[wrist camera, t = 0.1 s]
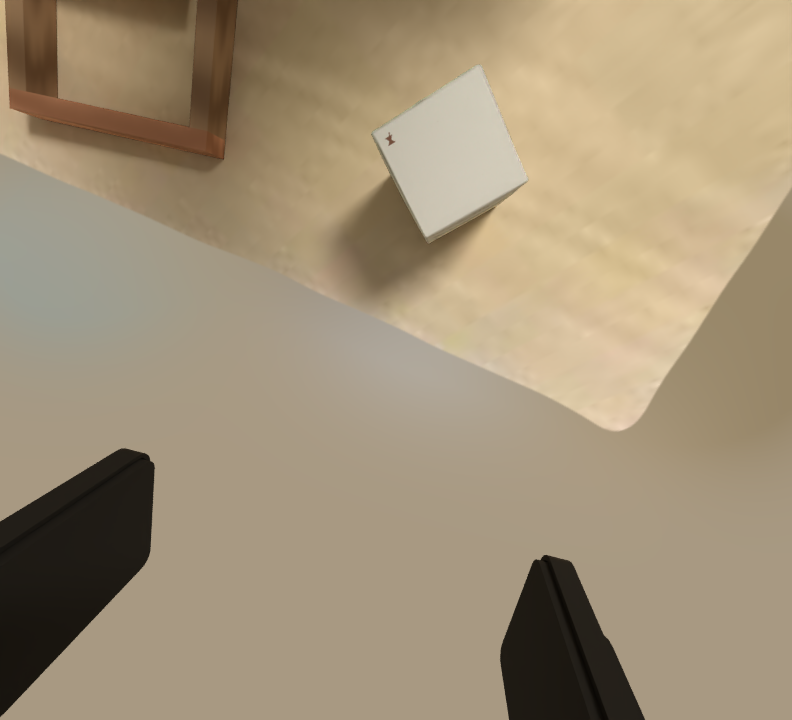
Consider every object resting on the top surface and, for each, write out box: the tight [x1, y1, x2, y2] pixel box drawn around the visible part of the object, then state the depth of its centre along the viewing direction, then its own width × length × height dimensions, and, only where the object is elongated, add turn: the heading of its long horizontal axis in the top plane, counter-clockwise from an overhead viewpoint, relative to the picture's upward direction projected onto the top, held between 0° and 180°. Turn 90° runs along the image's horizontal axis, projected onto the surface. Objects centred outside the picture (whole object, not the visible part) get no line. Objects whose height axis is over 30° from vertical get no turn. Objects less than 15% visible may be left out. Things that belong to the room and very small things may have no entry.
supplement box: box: [371, 65, 528, 244], centre depth 30 cm, size 7×7×13 cm
